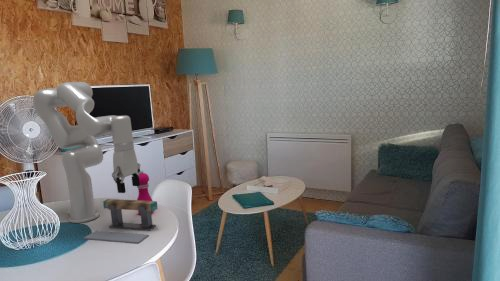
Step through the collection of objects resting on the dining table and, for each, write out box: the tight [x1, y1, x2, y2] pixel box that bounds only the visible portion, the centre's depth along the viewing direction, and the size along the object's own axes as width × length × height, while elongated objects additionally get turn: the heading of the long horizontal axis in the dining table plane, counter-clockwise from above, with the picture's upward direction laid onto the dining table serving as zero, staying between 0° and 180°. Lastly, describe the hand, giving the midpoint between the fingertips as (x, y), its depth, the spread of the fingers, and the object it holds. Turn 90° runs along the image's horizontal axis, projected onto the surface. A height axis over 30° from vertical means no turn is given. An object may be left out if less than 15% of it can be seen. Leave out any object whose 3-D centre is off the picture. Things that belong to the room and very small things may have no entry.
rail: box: [102, 198, 158, 212], centre depth 155 cm, size 23×3×3 cm, turn 73°
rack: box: [107, 204, 157, 232], centre depth 155 cm, size 19×5×10 cm, turn 73°
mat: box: [83, 230, 150, 245], centre depth 146 cm, size 24×7×1 cm, turn 73°
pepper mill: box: [136, 169, 154, 216], centre depth 171 cm, size 7×7×20 cm
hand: (129, 189), depth 153 cm, fingers open, 9 cm apart
